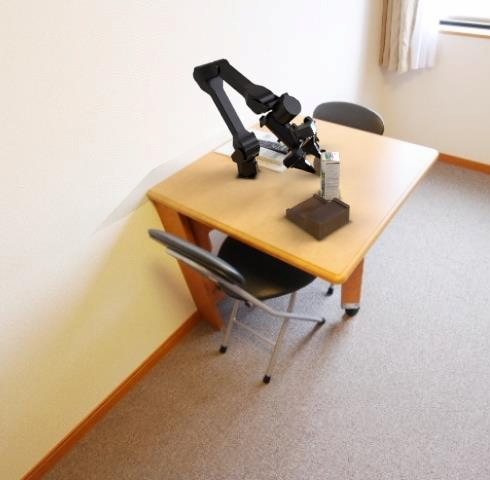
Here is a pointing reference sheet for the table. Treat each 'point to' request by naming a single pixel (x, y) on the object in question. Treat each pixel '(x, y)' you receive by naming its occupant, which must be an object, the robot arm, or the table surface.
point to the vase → (318, 162)
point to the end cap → (315, 142)
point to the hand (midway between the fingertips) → (318, 165)
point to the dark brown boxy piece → (319, 215)
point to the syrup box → (329, 175)
